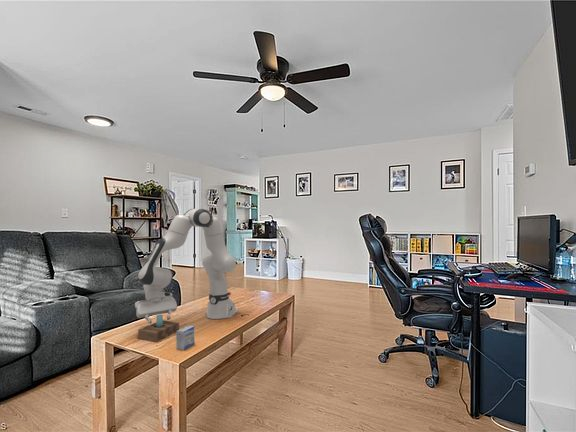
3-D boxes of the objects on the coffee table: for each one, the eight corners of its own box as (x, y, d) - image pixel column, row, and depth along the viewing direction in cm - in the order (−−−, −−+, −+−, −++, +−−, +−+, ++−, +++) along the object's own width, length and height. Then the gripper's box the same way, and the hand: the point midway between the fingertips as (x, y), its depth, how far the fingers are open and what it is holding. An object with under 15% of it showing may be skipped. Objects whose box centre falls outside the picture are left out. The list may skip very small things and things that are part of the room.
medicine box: (183, 350, 134) (183, 331, 134) (175, 349, 135) (176, 330, 136) (194, 344, 141) (194, 326, 141) (187, 342, 143) (187, 325, 143)
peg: (159, 333, 155) (159, 314, 155) (163, 334, 154) (163, 315, 154) (155, 335, 152) (155, 316, 152) (159, 336, 151) (159, 316, 151)
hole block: (161, 328, 162) (162, 320, 163) (179, 330, 158) (179, 322, 158) (138, 338, 148) (138, 329, 148) (156, 342, 143) (156, 332, 143)
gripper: (135, 298, 152) (139, 322, 144) (174, 292, 165) (180, 313, 157) (133, 305, 156) (137, 328, 148) (172, 298, 169) (177, 320, 161)
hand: (159, 320), depth 153 cm, fingers open, 8 cm apart
